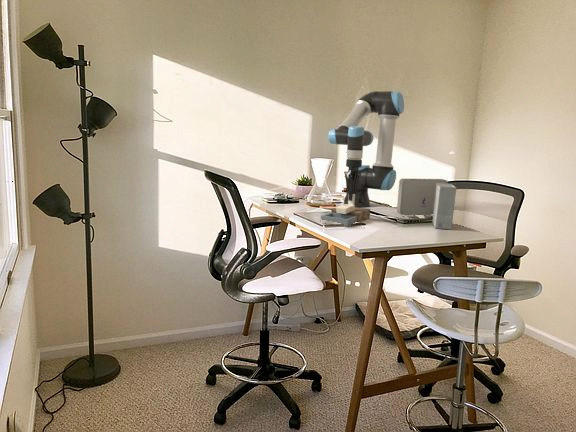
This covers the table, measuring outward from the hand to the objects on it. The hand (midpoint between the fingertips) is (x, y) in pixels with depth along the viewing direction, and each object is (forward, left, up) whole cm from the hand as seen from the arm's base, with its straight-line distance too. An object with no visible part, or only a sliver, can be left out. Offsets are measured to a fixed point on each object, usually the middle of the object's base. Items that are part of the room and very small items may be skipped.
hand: (350, 206), depth 230 cm
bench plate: (0, 0, -6) cm, 6 cm away
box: (+12, 0, -6) cm, 14 cm away
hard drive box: (-18, +40, -7) cm, 44 cm away
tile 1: (+8, 0, -1) cm, 8 cm away
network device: (-32, +25, -7) cm, 41 cm away
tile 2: (+3, 0, -1) cm, 3 cm away
